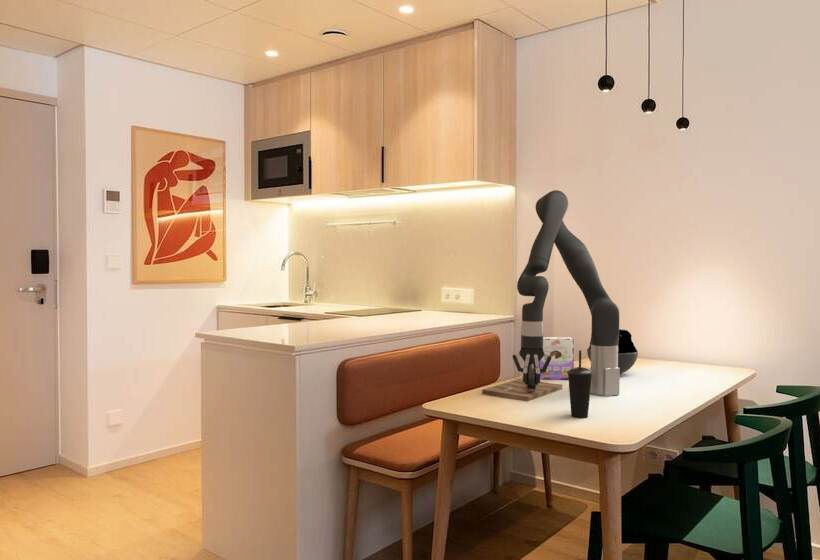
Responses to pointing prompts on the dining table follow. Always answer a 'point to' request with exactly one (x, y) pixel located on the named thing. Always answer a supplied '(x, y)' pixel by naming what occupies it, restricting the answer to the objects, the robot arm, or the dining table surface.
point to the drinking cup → (579, 390)
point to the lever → (531, 377)
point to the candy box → (558, 357)
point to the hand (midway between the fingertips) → (531, 383)
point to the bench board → (521, 390)
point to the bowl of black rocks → (623, 351)
